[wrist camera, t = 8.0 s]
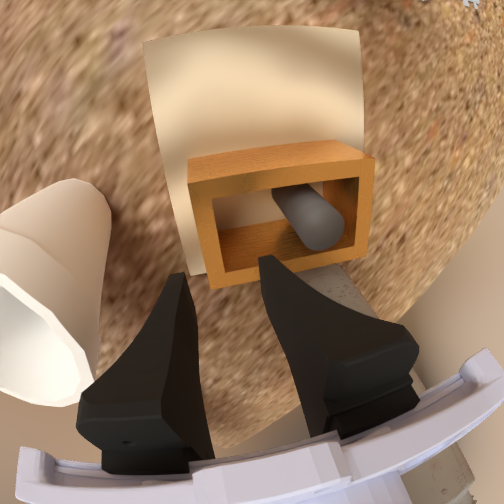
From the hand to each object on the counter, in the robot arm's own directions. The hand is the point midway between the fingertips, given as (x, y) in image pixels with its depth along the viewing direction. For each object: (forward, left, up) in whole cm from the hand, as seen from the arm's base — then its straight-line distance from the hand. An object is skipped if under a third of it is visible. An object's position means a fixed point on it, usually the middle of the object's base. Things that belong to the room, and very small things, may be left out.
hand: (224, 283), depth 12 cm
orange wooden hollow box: (0, -4, -9) cm, 10 cm away
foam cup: (+1, +10, -10) cm, 15 cm away
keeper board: (+3, -5, -10) cm, 11 cm away
